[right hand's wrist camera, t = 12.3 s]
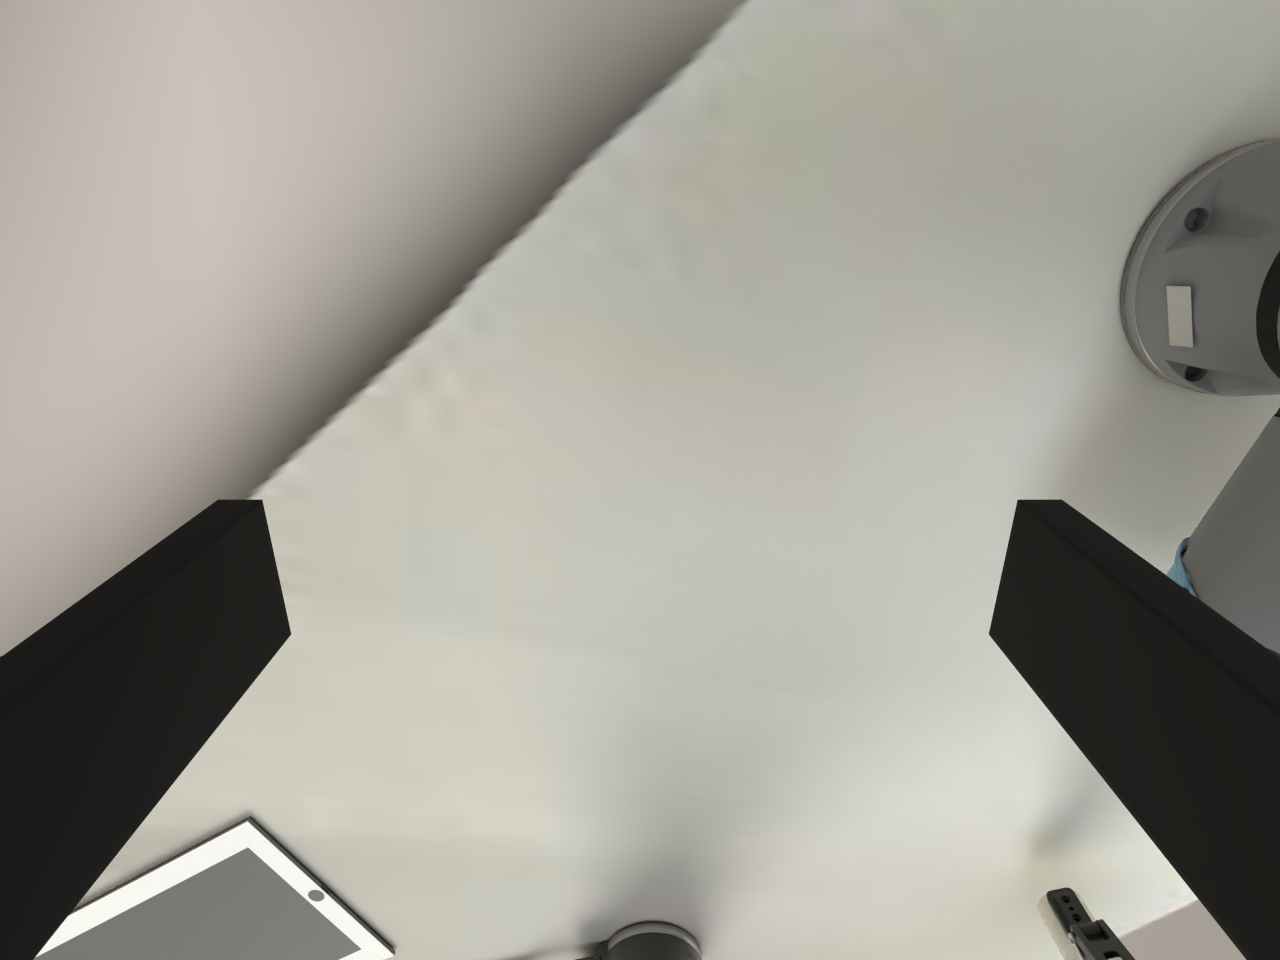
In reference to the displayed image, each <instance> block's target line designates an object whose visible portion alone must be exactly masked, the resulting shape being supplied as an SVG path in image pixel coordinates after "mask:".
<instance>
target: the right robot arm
mask: <svg viewBox="0 0 1280 960" xmlns="http://www.w3.org/2000/svg"><path fill="white" fill-rule="evenodd" d="M1121 314H1122V321H1123V326H1124V330H1125V333H1126V336H1127V339H1128V341H1129V343H1130V345H1131V347H1132V349H1133V350H1134V352H1135V354H1136V355H1137V357H1138V358H1139V359H1140V360H1141V361H1142V363H1143V364H1144V365H1145V366H1146V367H1147V368H1149V369H1150V370H1151V371H1152V372H1154V373H1155V374H1156V375H1158V376H1159V377H1161V378H1163V379H1165V380H1167V381H1169V382H1171V383H1174V384H1176V385H1179V386H1182V387H1185V388H1187V389H1190V390H1194V391H1197V392H1201V393H1207V394H1215V395H1223V396H1251V395H1270V394H1280V139H1274V140H1267V141H1261V142H1257V143H1253V144H1248V145H1246V146H1243V147H1240V148H1237V149H1234V150H1232V151H1230V152H1227V153H1225V154H1223V155H1221V156H1219V157H1217V158H1215V159H1213V160H1212V161H1210V162H1208V163H1207V164H1205V165H1204V166H1202V167H1200V168H1199V169H1197V170H1196V171H1195V172H1193V173H1192V174H1191V175H1190V176H1188V177H1187V178H1186V179H1184V180H1183V181H1182V182H1181V183H1180V184H1179V185H1178V186H1177V187H1176V188H1174V189H1173V191H1172V192H1171V193H1170V194H1169V195H1168V196H1167V197H1166V198H1165V199H1164V200H1163V201H1162V202H1161V204H1160V205H1159V206H1158V207H1157V208H1156V210H1155V211H1154V212H1153V214H1152V215H1151V217H1150V218H1149V219H1148V221H1147V222H1146V224H1145V226H1144V227H1143V229H1142V231H1141V232H1140V234H1139V236H1138V238H1137V240H1136V242H1135V244H1134V246H1133V249H1132V251H1131V254H1130V256H1129V259H1128V262H1127V265H1126V269H1125V273H1124V277H1123V282H1122V290H1121ZM1276 416H1277V417H1276ZM1279 417H1280V408H1279V410H1278V411H1277V412H1276V414H1275V415H1274V416H1273V417H1272V418H1271V420H1270V421H1269V423H1268V424H1267V426H1266V427H1265V429H1264V430H1263V432H1262V433H1261V434H1260V436H1259V437H1258V439H1257V440H1256V442H1255V443H1254V445H1253V446H1252V448H1251V449H1250V450H1249V452H1248V453H1247V455H1246V456H1245V458H1244V459H1243V461H1242V462H1241V464H1240V465H1239V466H1238V468H1237V469H1236V471H1235V472H1234V474H1233V475H1232V477H1231V478H1230V480H1229V481H1228V482H1227V484H1226V485H1225V487H1224V488H1223V490H1222V491H1221V493H1220V494H1219V496H1218V497H1217V499H1216V500H1215V501H1214V503H1213V504H1212V506H1211V507H1210V509H1209V510H1208V512H1207V513H1206V515H1205V516H1204V517H1203V519H1202V520H1201V522H1200V523H1199V525H1198V526H1197V528H1196V529H1195V531H1194V532H1193V533H1192V535H1191V536H1190V537H1189V538H1185V539H1184V540H1183V541H1182V543H1181V544H1180V545H1179V547H1178V549H1177V551H1176V557H1175V562H1174V564H1173V565H1172V567H1171V569H1170V570H1169V572H1168V574H1167V575H1165V574H1164V573H1162V572H1161V571H1159V570H1158V569H1157V568H1155V567H1154V566H1153V565H1151V564H1150V563H1148V562H1147V561H1146V560H1144V559H1143V558H1142V557H1140V556H1139V555H1137V554H1136V553H1135V552H1133V551H1132V550H1130V549H1129V548H1128V547H1126V546H1125V545H1124V544H1122V543H1121V542H1119V541H1118V540H1117V539H1115V538H1114V537H1113V536H1111V535H1110V534H1108V533H1107V532H1106V531H1104V530H1103V529H1102V528H1100V527H1099V526H1097V525H1096V524H1095V523H1093V522H1092V521H1091V520H1089V519H1088V518H1086V517H1085V516H1084V515H1082V514H1081V513H1079V512H1078V511H1077V510H1075V509H1074V508H1073V507H1071V506H1070V505H1068V504H1067V503H1066V502H1064V501H1063V500H1018V501H1017V506H1016V511H1015V515H1014V520H1013V524H1012V529H1011V534H1010V538H1009V543H1008V548H1007V552H1006V557H1005V562H1004V566H1003V571H1002V576H1001V580H1000V585H999V589H998V594H997V599H996V603H995V608H994V613H993V617H992V622H991V627H990V631H989V635H990V636H991V638H992V639H993V640H994V641H995V643H996V644H997V645H998V646H999V648H1000V649H1001V650H1002V651H1003V653H1004V654H1005V655H1006V657H1007V658H1008V659H1009V660H1010V662H1011V663H1012V664H1013V665H1014V667H1015V668H1016V669H1017V670H1018V672H1019V673H1020V674H1021V675H1022V677H1023V678H1024V679H1025V681H1026V682H1027V683H1028V684H1029V686H1030V687H1031V688H1032V689H1033V691H1034V692H1035V693H1036V694H1037V696H1038V697H1039V698H1040V699H1041V701H1042V702H1043V703H1044V704H1045V706H1046V707H1047V708H1048V710H1049V711H1050V712H1051V713H1052V715H1053V716H1054V717H1055V718H1056V720H1057V721H1058V722H1059V723H1060V725H1061V726H1062V727H1063V728H1064V730H1065V731H1066V732H1067V734H1068V735H1069V736H1070V737H1071V739H1072V740H1073V741H1074V742H1075V744H1076V745H1077V746H1078V747H1079V749H1080V750H1081V751H1082V752H1083V754H1084V755H1085V756H1086V758H1087V759H1088V760H1089V761H1090V763H1091V764H1092V765H1093V766H1094V768H1095V769H1096V770H1097V771H1098V773H1099V774H1100V775H1101V776H1102V778H1103V779H1104V780H1105V782H1106V783H1107V784H1108V785H1109V787H1110V788H1111V789H1112V790H1113V792H1114V793H1115V794H1116V795H1117V797H1118V798H1119V799H1120V800H1121V802H1122V803H1123V804H1124V806H1125V807H1126V808H1127V809H1128V811H1129V812H1130V813H1131V814H1132V816H1133V817H1134V818H1135V819H1136V821H1137V822H1138V823H1139V824H1140V826H1141V827H1142V828H1143V829H1144V831H1145V832H1146V833H1147V835H1148V836H1149V837H1150V838H1151V840H1152V841H1153V842H1154V843H1155V845H1156V846H1157V847H1158V848H1159V850H1160V851H1161V852H1162V853H1163V855H1164V856H1165V857H1166V859H1167V860H1168V861H1169V862H1170V864H1171V865H1172V866H1173V867H1174V869H1175V870H1176V871H1177V872H1178V874H1179V875H1180V876H1181V877H1182V879H1183V880H1184V881H1185V883H1186V884H1187V885H1188V886H1189V888H1190V889H1191V890H1192V891H1193V893H1194V894H1195V895H1196V896H1197V898H1198V899H1199V900H1200V901H1201V903H1202V904H1203V905H1204V906H1205V908H1206V909H1207V910H1208V912H1209V913H1210V914H1211V915H1212V917H1213V918H1214V919H1215V920H1216V922H1217V923H1218V924H1219V925H1220V927H1221V928H1222V929H1223V931H1224V932H1225V933H1226V934H1227V936H1228V937H1229V938H1230V939H1231V941H1232V942H1233V943H1234V944H1235V946H1236V947H1237V948H1238V949H1239V951H1240V952H1241V953H1242V954H1243V956H1244V957H1245V958H1246V959H1247V960H1280V418H1279ZM290 635H291V631H290V627H289V622H288V617H287V613H286V608H285V603H284V599H283V594H282V589H281V585H280V580H279V576H278V571H277V566H276V562H275V557H274V552H273V548H272V543H271V538H270V534H269V529H268V524H267V520H266V515H265V511H264V506H263V501H262V500H217V501H216V502H214V503H213V504H212V505H210V506H209V507H207V508H206V509H205V510H203V511H202V512H201V513H199V514H198V515H196V516H195V517H194V518H192V519H191V520H190V521H188V522H187V523H185V524H184V525H183V526H181V527H180V528H178V529H177V530H176V531H174V532H173V533H172V534H170V535H169V536H167V537H166V538H165V539H163V540H162V541H161V542H159V543H158V544H156V545H155V546H154V547H152V548H151V549H150V550H148V551H147V552H145V553H144V554H143V555H141V556H140V557H138V558H137V559H136V560H134V561H133V562H132V563H130V564H129V565H127V566H126V567H125V568H123V569H122V570H121V571H119V572H118V573H116V574H115V575H114V576H112V577H111V578H110V579H108V580H107V581H105V582H104V583H103V584H101V585H100V586H98V587H97V588H96V589H94V590H93V591H92V592H90V593H89V594H87V595H86V596H85V597H83V598H82V599H81V600H79V601H78V602H76V603H75V604H74V605H72V606H71V607H70V608H68V609H67V610H65V611H64V612H63V613H61V614H60V615H59V616H57V617H56V618H54V619H53V620H52V621H50V622H49V623H48V624H46V625H45V626H43V627H42V628H41V629H39V630H38V631H36V632H35V633H34V634H32V635H31V636H30V637H28V638H27V639H25V640H24V641H23V642H21V643H20V644H19V645H17V646H16V647H14V648H13V649H12V650H10V651H9V652H8V653H6V654H5V655H3V656H1V657H0V960H34V958H35V957H36V956H37V954H38V953H39V952H40V951H41V949H42V948H43V947H44V946H45V944H46V943H47V942H48V941H49V939H50V938H51V937H52V936H53V934H54V933H55V932H56V931H57V929H58V928H59V927H60V925H61V924H62V923H63V922H64V920H65V919H66V918H67V917H68V915H69V914H70V913H71V912H72V910H73V909H74V908H75V907H76V905H77V904H78V903H79V901H80V900H81V899H82V898H83V896H84V895H85V894H86V893H87V891H88V890H89V889H90V888H91V886H92V885H93V884H94V883H95V881H96V880H97V879H98V877H99V876H100V875H101V874H102V872H103V871H104V870H105V869H106V867H107V866H108V865H109V864H110V862H111V861H112V860H113V859H114V857H115V856H116V855H117V853H118V852H119V851H120V850H121V848H122V847H123V846H124V845H125V843H126V842H127V841H128V840H129V838H130V837H131V836H132V835H133V833H134V832H135V831H136V829H137V828H138V827H139V826H140V824H141V823H142V822H143V821H144V819H145V818H146V817H147V816H148V814H149V813H150V812H151V811H152V809H153V808H154V807H155V806H156V804H157V803H158V802H159V800H160V799H161V798H162V797H163V795H164V794H165V793H166V792H167V790H168V789H169V788H170V787H171V785H172V784H173V783H174V782H175V780H176V779H177V778H178V776H179V775H180V774H181V773H182V771H183V770H184V769H185V768H186V766H187V765H188V764H189V763H190V761H191V760H192V759H193V758H194V756H195V755H196V754H197V752H198V751H199V750H200V749H201V747H202V746H203V745H204V744H205V742H206V741H207V740H208V739H209V737H210V736H211V735H212V734H213V732H214V731H215V730H216V728H217V727H218V726H219V725H220V723H221V722H222V721H223V720H224V718H225V717H226V716H227V715H228V713H229V712H230V711H231V710H232V708H233V707H234V706H235V704H236V703H237V702H238V701H239V699H240V698H241V697H242V696H243V694H244V693H245V692H246V691H247V689H248V688H249V687H250V686H251V684H252V683H253V682H254V681H255V679H256V678H257V677H258V675H259V674H260V673H261V672H262V670H263V669H264V668H265V667H266V665H267V664H268V663H269V662H270V660H271V659H272V658H273V657H274V655H275V654H276V653H277V651H278V650H279V649H280V648H281V646H282V645H283V644H284V643H285V641H286V640H287V639H288V638H289V636H290Z"/></svg>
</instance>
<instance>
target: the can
mask: <svg viewBox="0 0 1280 960" xmlns="http://www.w3.org/2000/svg"><path fill="white" fill-rule="evenodd" d="M1074 893H1075V894H1076V896H1077V897H1078V899H1079V901H1080V902H1081V904H1082V906H1083V907H1084V909H1085V910H1086V912H1087V914H1088V915H1089V917H1090V919H1091V920H1092V922H1095V919H1094V917H1093V916H1092V914H1091V912H1090V911H1089V909H1088V908H1087V906H1086V904H1085V903H1084V901H1083V900H1082V898H1081V896H1080V895H1079V894H1078V893H1076V892H1075V891H1074ZM1038 912H1039V914H1040V916H1041V918H1042V919H1043V921H1044V923H1045V925H1046V927H1047V929H1048V930H1049V932H1050V934H1051V936H1052V938H1053V939H1054V941H1055V943H1056V945H1057V947H1058V949H1059V950H1060V952H1061V954H1062V956H1063V958H1064V959H1065V960H1079V959H1078V957H1077V955H1076V953H1075V951H1074V949H1073V947H1072V946H1071V945H1070V943H1069V940H1068V937H1067V935H1066V933H1065V932H1064V930H1063V928H1062V926H1061V925H1060V923H1059V921H1058V919H1057V918H1056V916H1055V914H1054V912H1053V911H1052V909H1051V907H1050V905H1049V904H1048V901H1047V894H1046V895H1045V896H1043V897H1042V898H1041V899H1040V901H1039V903H1038Z"/></svg>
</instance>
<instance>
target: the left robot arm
mask: <svg viewBox="0 0 1280 960" xmlns="http://www.w3.org/2000/svg"><path fill="white" fill-rule="evenodd" d="M1047 901H1048V904H1049V905H1050V907H1051V909H1052V911H1053V912H1054V914H1055V916H1056V918H1057V919H1058V921H1059V923H1060V925H1061V926H1062V928H1063V930H1064V932H1065V933H1066V935H1067V937H1068V940H1069V943H1070V945H1071V946H1072V947H1073V949H1074V951H1075V953H1076V955H1077V957H1078V959H1079V960H1135V959H1134V958H1133V956H1132V955H1131V954H1130V953H1129V951H1128V950H1127V949H1126V948H1125V946H1124V945H1123V944H1122V943H1121V941H1120V940H1119V939H1118V938H1117V937H1116V935H1115V934H1114V933H1113V932H1112V930H1111V929H1110V928H1109V927H1108V925H1107V924H1106V923H1105V922H1104V920H1102V919H1101V920H1096V921H1095V922H1092V920H1091V919H1090V917H1089V915H1088V914H1087V912H1086V910H1085V909H1084V907H1083V906H1082V904H1081V902H1080V901H1079V899H1078V897H1077V896H1076V894H1075V893H1074V891H1073V890H1072V889H1070V888H1062V889H1057V890H1052V891H1049V892H1048V893H1047ZM576 960H701V951H700V947H699V945H698V943H697V942H696V940H695V939H694V938H693V937H692V936H691V935H690V934H688V933H687V932H685V931H684V930H682V929H680V928H677V927H675V926H672V925H668V924H662V923H643V924H638V925H634V926H631V927H628V928H625V929H624V930H622V931H620V932H618V933H617V934H616V935H614V936H613V937H612V938H611V939H610V941H608V942H606V943H601V944H599V945H598V955H597V956H592V957H586V958H581V959H576Z"/></svg>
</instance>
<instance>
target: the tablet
mask: <svg viewBox="0 0 1280 960" xmlns="http://www.w3.org/2000/svg"><path fill="white" fill-rule="evenodd" d="M394 954H395V951H394V950H393V949H392V948H391V947H390V946H389V945H388V944H387V943H385V942H384V941H383V940H382V939H381V938H380V937H379V936H378V935H377V934H376V933H375V932H373V931H372V930H371V929H370V928H369V927H368V926H367V925H366V924H365V923H364V922H363V921H361V920H360V919H359V918H358V917H357V916H356V915H355V914H354V913H353V912H352V911H351V910H349V909H348V908H347V907H346V906H345V905H344V904H343V903H342V902H341V901H340V900H339V899H337V898H336V897H335V896H334V895H333V894H332V893H331V892H330V891H329V890H328V889H327V888H325V887H324V886H323V885H322V884H321V883H320V882H319V881H318V880H317V879H316V878H315V877H313V876H312V875H311V874H310V873H309V872H308V871H307V870H306V869H305V868H304V867H303V866H301V865H300V864H299V863H298V862H297V861H296V860H295V859H294V858H293V857H292V856H291V855H289V854H288V853H287V852H286V851H285V850H284V849H283V848H282V847H281V846H280V845H279V844H277V843H276V842H275V841H274V840H273V839H272V838H271V837H270V836H269V835H268V834H267V833H265V832H264V831H263V830H262V829H261V828H260V827H259V826H258V825H257V824H256V823H255V822H253V821H252V820H251V819H250V818H248V819H247V820H245V821H243V822H241V823H239V824H237V825H235V826H233V827H231V828H230V829H228V830H226V831H224V832H222V833H220V834H218V835H216V836H214V837H212V838H211V839H209V840H207V841H205V842H203V843H201V844H199V845H197V846H195V847H194V848H192V849H190V850H188V851H186V852H184V853H182V854H180V855H178V856H177V857H175V858H173V859H171V860H169V861H167V862H165V863H163V864H161V865H160V866H158V867H156V868H154V869H152V870H150V871H148V872H146V873H144V874H143V875H141V876H139V877H137V878H135V879H133V880H131V881H129V882H127V883H126V884H124V885H122V886H120V887H118V888H116V889H114V890H112V891H110V892H108V893H107V894H105V895H103V896H101V897H99V898H97V899H95V900H93V901H91V902H90V903H88V904H86V905H84V906H82V907H80V908H78V909H76V910H74V911H73V912H71V913H70V914H69V915H68V917H67V918H66V919H65V920H64V922H63V923H62V924H61V925H60V927H59V928H58V929H57V931H56V932H55V933H54V934H53V936H52V937H51V938H50V939H49V941H48V942H47V943H46V944H45V946H44V947H43V948H42V949H41V951H40V952H39V953H38V954H37V956H36V957H35V958H34V960H385V959H387V958H389V957H392V956H394Z"/></svg>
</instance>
